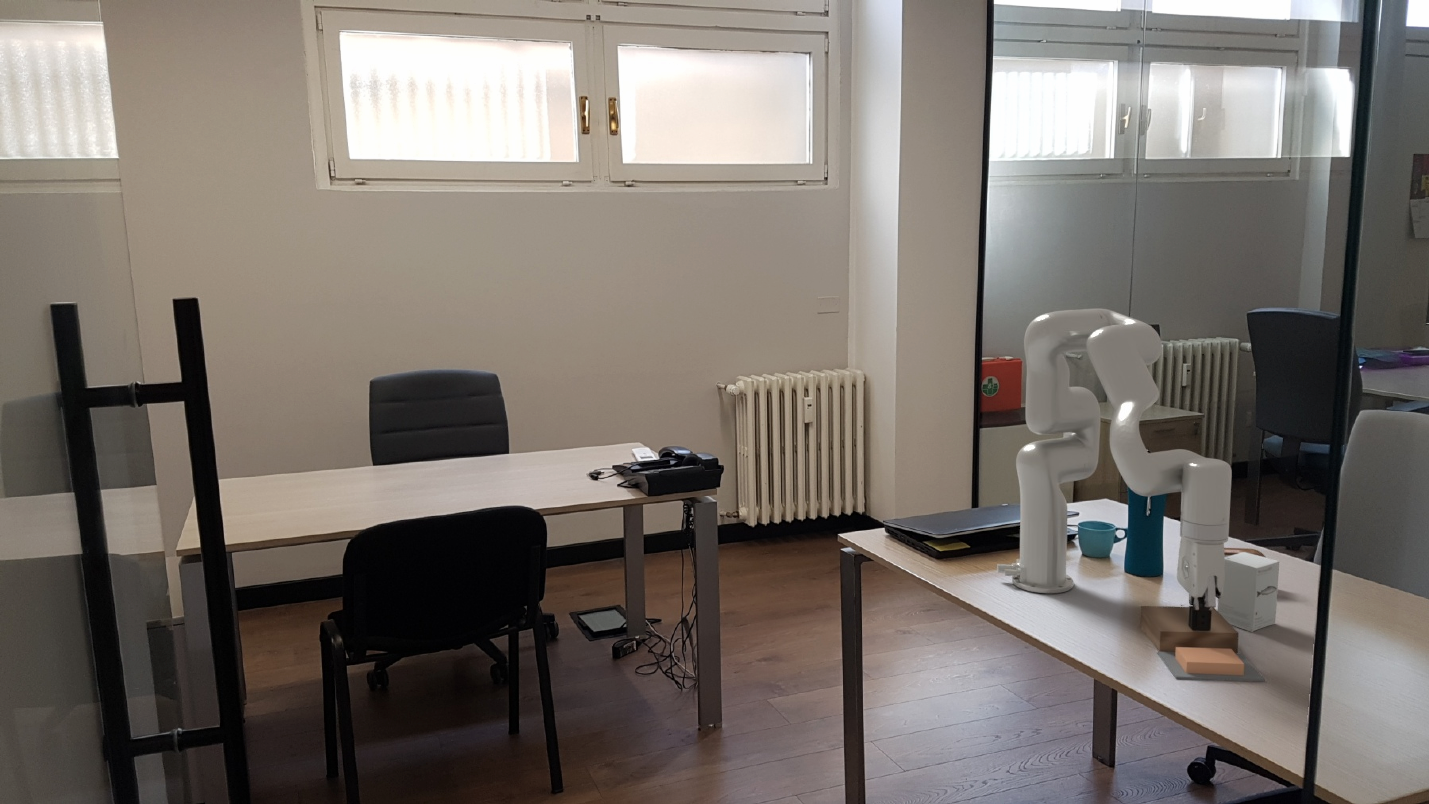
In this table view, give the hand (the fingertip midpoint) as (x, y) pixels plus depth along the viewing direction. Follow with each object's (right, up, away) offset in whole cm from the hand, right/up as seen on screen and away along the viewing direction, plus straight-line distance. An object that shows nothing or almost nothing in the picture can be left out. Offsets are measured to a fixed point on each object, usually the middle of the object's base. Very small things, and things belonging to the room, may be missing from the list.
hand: (1199, 628), depth 167 cm
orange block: (-1, -3, -6) cm, 6 cm away
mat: (-1, -5, -5) cm, 7 cm away
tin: (+23, +1, +31) cm, 39 cm away
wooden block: (+1, -4, +7) cm, 8 cm away
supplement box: (+16, -2, +13) cm, 21 cm away
